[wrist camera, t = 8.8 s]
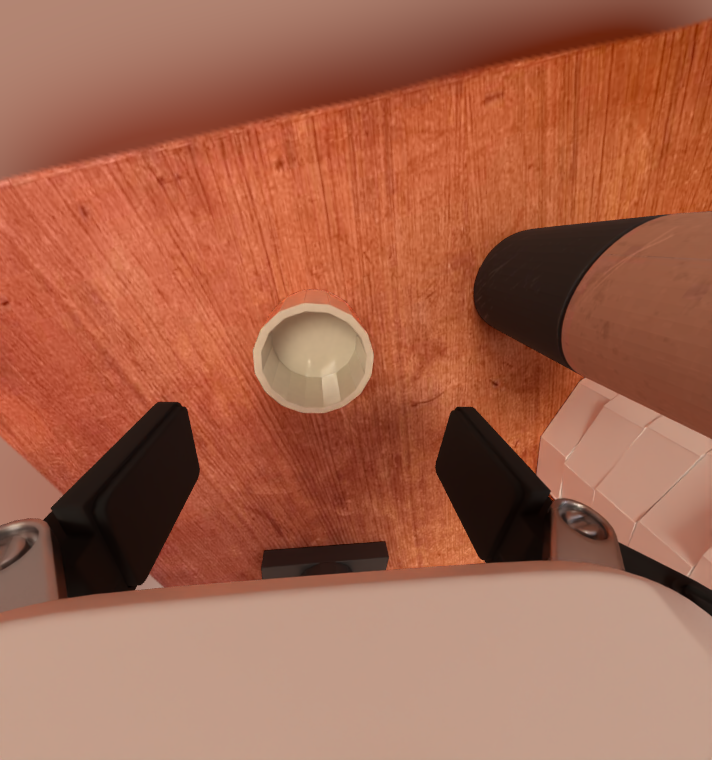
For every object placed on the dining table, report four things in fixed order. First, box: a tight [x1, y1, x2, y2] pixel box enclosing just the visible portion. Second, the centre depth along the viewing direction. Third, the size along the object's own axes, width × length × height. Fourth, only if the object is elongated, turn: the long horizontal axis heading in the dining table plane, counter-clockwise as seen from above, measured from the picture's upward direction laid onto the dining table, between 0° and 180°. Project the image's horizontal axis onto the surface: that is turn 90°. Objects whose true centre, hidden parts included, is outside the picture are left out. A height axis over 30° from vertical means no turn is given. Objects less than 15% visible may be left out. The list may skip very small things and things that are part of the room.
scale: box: [261, 542, 389, 580], centre depth 34 cm, size 14×16×4 cm
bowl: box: [253, 289, 374, 413], centre depth 18 cm, size 7×7×5 cm
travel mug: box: [474, 211, 712, 439], centre depth 12 cm, size 8×8×20 cm
